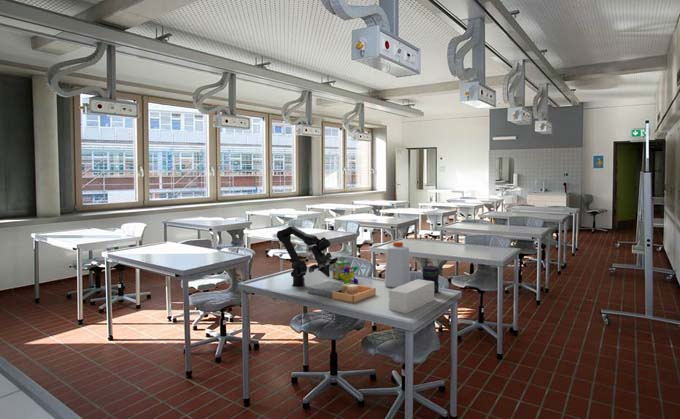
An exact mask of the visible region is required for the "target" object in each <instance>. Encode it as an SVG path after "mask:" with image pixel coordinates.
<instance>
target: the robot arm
mask: <svg viewBox="0 0 680 419" xmlns="http://www.w3.org/2000/svg"><path fill="white" fill-rule="evenodd" d="M291 235H293V236H295V237H297V238H299V239H300V240H302V241H303V243H304V244H305V245H306V246H307V247H309V248H308V252H311V253H312V255H313V257H314V261H315V262H316V263H317V264H316V263H315V264H313V265H310V266H309V267H308V265H307V263H306V261H305V260H301V259H300V256H299V255H298V253H297V251H296V248H295V247H294V245H293V243H292V241H291V238H292V237H291ZM276 237H277V239H278V241H279V242H280V243H282V244H283V246H284V248H285V249H286V252H287V253H288V256H289V257H290V260H291V261H292V271H291V272H290V277H291V278H292V284H291V285H292V287H303V286H305V285H306V284H305V283H306V282H305V276H307V275H306V274H307V271H308V272H309V273H313V272H315V270H317V271H318V272H321V273H322V274H324V275H325V277H326V278H330V266H332V265H333V264H334V263H336V262H337V261H339V259H338V257H336V256H333V257H332V254H331V252H327V253H326V254H325V253H324V251H325V250H327V249H328V248H330V247H331V242H330V240H328V239H327V238H326V237H325V236H324V237H321V238H318V237H317V235H314V234H308V233H306V232H304V231H302V230H301V229H299V228H297V227H296V226H294V225H291V226H288V227H286V228H283V229H281V230H278V231H277V232H276Z"/></svg>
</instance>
